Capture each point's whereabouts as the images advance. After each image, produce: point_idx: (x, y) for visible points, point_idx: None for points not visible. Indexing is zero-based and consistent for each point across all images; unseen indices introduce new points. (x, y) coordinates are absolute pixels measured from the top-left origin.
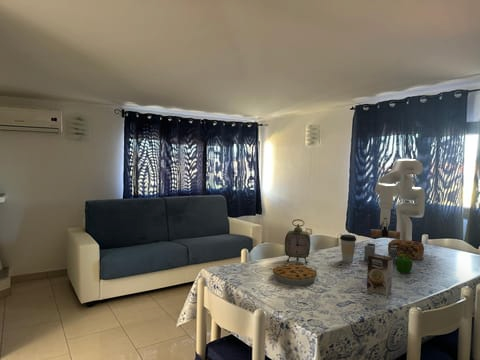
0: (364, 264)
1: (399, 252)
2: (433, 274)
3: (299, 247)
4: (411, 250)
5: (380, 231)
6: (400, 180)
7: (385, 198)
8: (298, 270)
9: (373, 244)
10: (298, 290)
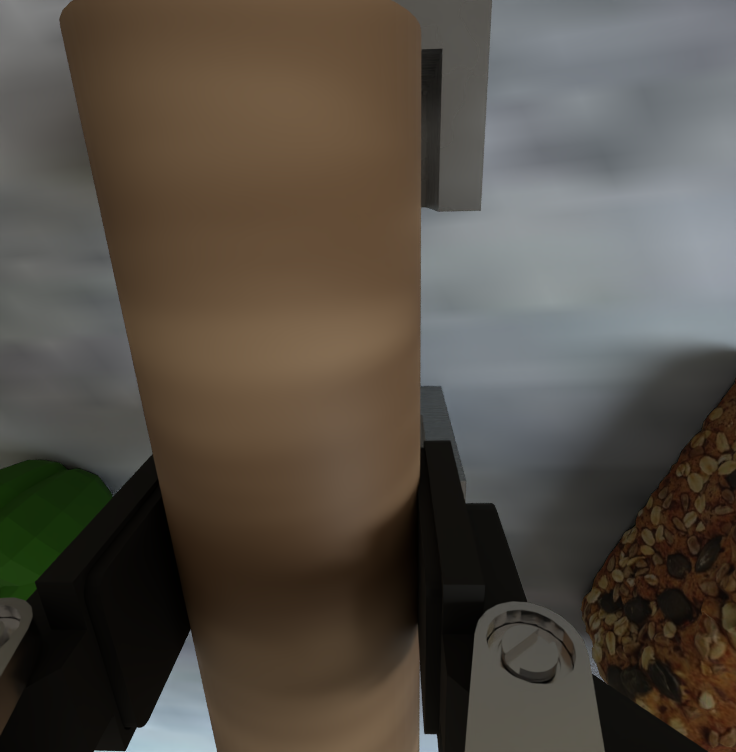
0: (77, 115)
1: (698, 489)
2: (178, 671)
3: None
4: (641, 635)
5: (166, 472)
6: None
7: None
8: None
9: (439, 182)
10: None
